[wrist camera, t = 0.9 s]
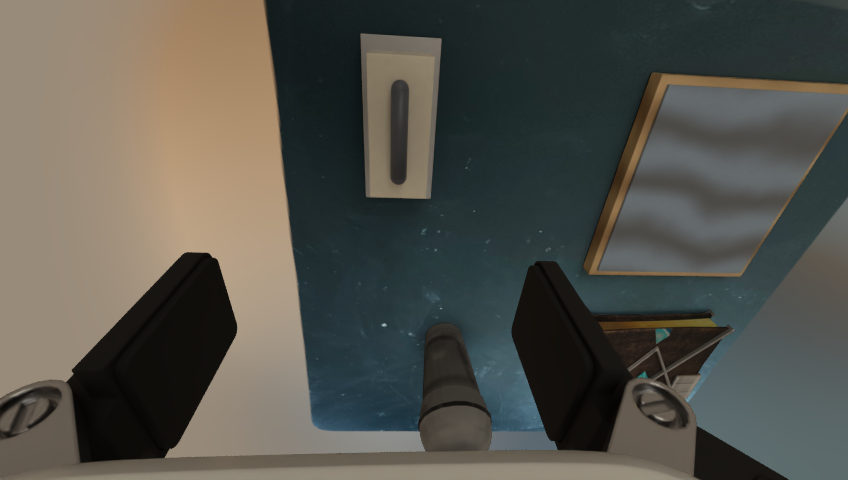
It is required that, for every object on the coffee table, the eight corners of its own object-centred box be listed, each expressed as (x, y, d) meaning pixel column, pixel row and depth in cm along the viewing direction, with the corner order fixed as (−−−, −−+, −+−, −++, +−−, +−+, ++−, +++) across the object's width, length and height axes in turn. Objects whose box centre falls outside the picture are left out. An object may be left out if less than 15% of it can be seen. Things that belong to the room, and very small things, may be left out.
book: (583, 310, 43) (603, 341, 38) (713, 306, 44) (747, 336, 39) (549, 415, 54) (561, 447, 50) (653, 410, 55) (674, 442, 50)
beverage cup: (461, 359, 46) (495, 551, 29) (408, 351, 45) (411, 548, 28) (479, 319, 43) (531, 512, 25) (422, 310, 41) (436, 506, 24)
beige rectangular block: (362, 33, 27) (350, 33, 20) (439, 38, 27) (450, 39, 21) (367, 190, 33) (359, 226, 27) (429, 192, 34) (435, 228, 27)
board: (651, 72, 29) (665, 74, 27) (845, 83, 30) (869, 86, 29) (582, 266, 39) (589, 276, 38) (730, 269, 41) (742, 278, 39)
